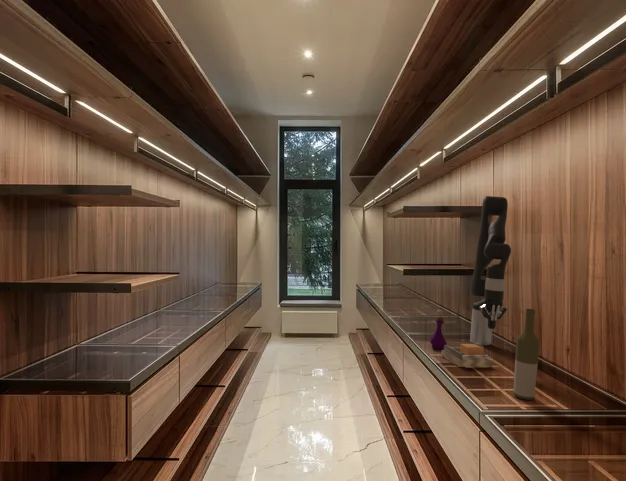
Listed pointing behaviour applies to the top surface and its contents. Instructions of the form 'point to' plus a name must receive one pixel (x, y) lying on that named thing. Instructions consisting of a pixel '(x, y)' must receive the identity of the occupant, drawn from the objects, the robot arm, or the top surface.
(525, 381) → the bottle
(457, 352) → the dock
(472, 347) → the orange box with handle
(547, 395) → the top surface
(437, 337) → the perfume bottle
